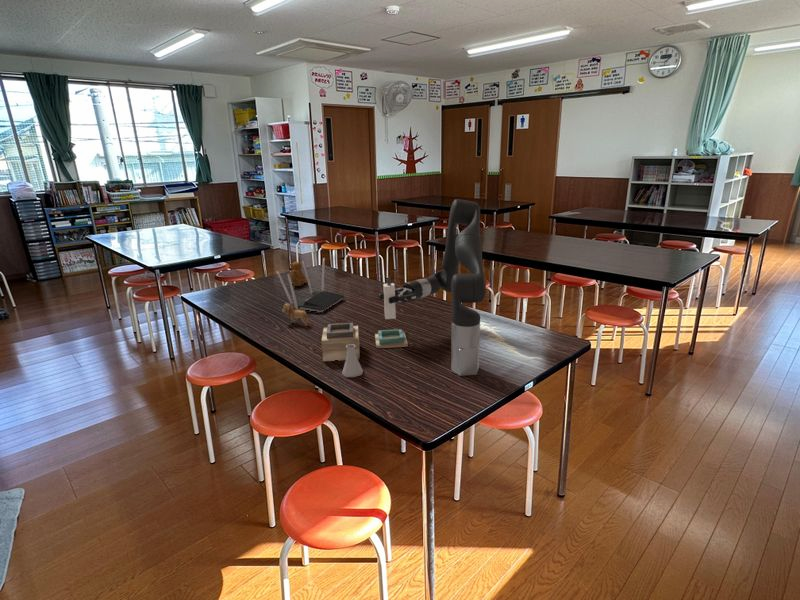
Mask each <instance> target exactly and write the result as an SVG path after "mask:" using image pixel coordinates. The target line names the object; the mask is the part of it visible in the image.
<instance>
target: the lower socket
mask: <svg viewBox="0 0 800 600" xmlns="http://www.w3.org/2000/svg"><path fill="white" fill-rule="evenodd" d="M374 338H375V345H376V346H375V347H376V349H387V348H389V349H391V348H402V347H409V346H408V345H409V342H408V339H407V337H406V332H404V331H403V330H402V328H398V329H397V328H396V329H380V330H377V333H374Z"/></svg>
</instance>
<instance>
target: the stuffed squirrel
mask: <svg viewBox="0 0 800 600" xmlns="http://www.w3.org/2000/svg"><path fill="white" fill-rule="evenodd" d="M289 266H290V267H291V268H292V270H290V272H288V274H289V275H290V277H291V281H292V284H293V287H295V286H301V285H302V284H304V283H307V278H306V275H305V272H304V270H302V262H299V261H294V262H292V263H289ZM307 284H308V283H307ZM304 285H305V284H304ZM302 286H303V285H302ZM302 286H301V287H302Z"/></svg>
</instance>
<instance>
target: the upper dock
mask: <svg viewBox="0 0 800 600" xmlns="http://www.w3.org/2000/svg"><path fill="white" fill-rule="evenodd" d="M359 333H360V331H359V325H354V322H341V323H340V322H339V323H338V322H337V323H328V324H327V327H325V326H324V327H323V330H322V335H321V351H322V362H333V361H335V360H338V361H346V358H347V348H346V345H349V344H354V345H356V347H355V353H356V357H357V359H358V360H360V358H361V357H360V337H359V336H360V334H359ZM335 362H336V361H335Z"/></svg>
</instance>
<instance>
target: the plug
mask: <svg viewBox="0 0 800 600" xmlns="http://www.w3.org/2000/svg"><path fill="white" fill-rule="evenodd" d="M391 282H392V281H391V276H387V277H386V283H383V293H384V299H383V301H384V303H383V304H384V305H383V307H384V319H385V320H393V319H394V320H395V319H397V317H396V315H397V314H396V302H395V303H391V304H390V303H389V298H390V297H393V296H395V289H396V286H395V283H393V282H392V283H391Z"/></svg>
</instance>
